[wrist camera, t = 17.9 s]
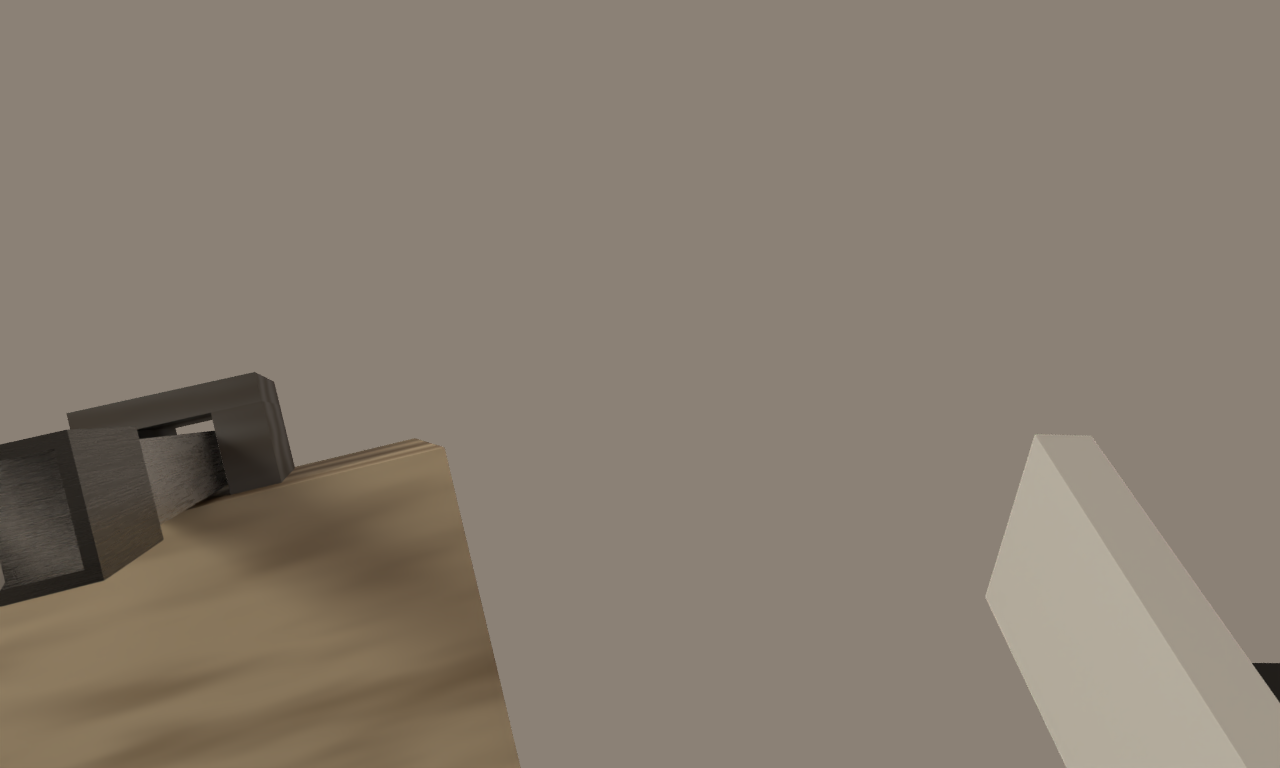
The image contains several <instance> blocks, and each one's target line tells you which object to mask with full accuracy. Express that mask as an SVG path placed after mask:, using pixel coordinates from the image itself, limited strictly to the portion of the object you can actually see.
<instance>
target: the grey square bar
mask: <svg viewBox="0 0 1280 768" xmlns="http://www.w3.org/2000/svg"><path fill="white" fill-rule="evenodd" d="M227 485H228V482H227V478H226V474H225V469H224V465H223V461H222V457H221V453H220V449H219V445H218V441H217V437H216V432H215V431H209V432H200V433H190V434H181V435H172V436H163V437H154V438H145V439H139V436H138V432H137V428H136V426H135V427H114V428H93V429H73V430H64V431H60V432H55V433H50V434H46V435H41V436H37V437H32V438H28V439H23V440H19V441H14V442H10V443H6V444H1V445H0V563H1V567H2V571H3V575H4V580H5V583H4V585H3V587H2V588H1V590H0V607H2V606H6V605H10V604H14V603H18V602H22V601H26V600H30V599H34V598H38V597H42V596H46V595H50V594H54V593H58V592H62V591H66V590H69V589H73V588H77V587H81V586H85V585H89V584H93V583H97V582H101V581H105V580H106V579H107V578H109V577H110V576H112V575H113V574H115V573H116V572H118V571H119V570H121V569H122V568H124V567H125V566H126V565H128V564H129V563H131V562H132V561H134V560H135V559H137V558H138V557H140V556H141V555H142V554H144V553H145V552H147V551H148V550H150V549H151V548H153V547H154V546H156V545H157V544H158V543H160V542H161V541H163V540H164V538H163V534H162V530H161V526H160V525H161V524H162V523H164V522H166V521H168V520H169V519H171V518H173V517H174V516H176V515H178V514H179V513H181V512H183V511H184V510H186V509H188V508H189V507H191V506H193V505H195V504H196V503H198V502H200V501H201V500H203V499H205V498H206V497H208V496H210V495H211V494H213V493H215V492H217V491H218V490H220V489H222V488H223V487H225V486H227Z"/></svg>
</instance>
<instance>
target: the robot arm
mask: <svg viewBox="0 0 1280 768" xmlns="http://www.w3.org/2000/svg"><path fill="white" fill-rule="evenodd" d="M4 583H5V580H4V575H3V571H2V567H1V563H0V590H1V588H2V587H3V585H4ZM985 598H986V600H987V602H988V604H989V606H990V608H991V610H992V612H993V615H994V617H995V619H996V621H997V623H998V625H999V627H1000V629H1001V631H1002V634H1003V636H1004V638H1005V640H1006V642H1007V644H1008V646H1009V648H1010V650H1011V652H1012V655H1013V657H1014V659H1015V661H1016V663H1017V665H1018V667H1019V669H1020V671H1021V674H1022V676H1023V678H1024V680H1025V682H1026V684H1027V686H1028V688H1029V690H1030V692H1031V695H1032V697H1033V699H1034V701H1035V703H1036V705H1037V707H1038V709H1039V711H1040V714H1041V715H1042V718H1043V720H1044V722H1045V724H1046V726H1047V728H1048V730H1049V732H1050V734H1051V737H1052V739H1053V741H1054V743H1055V745H1056V747H1057V749H1058V751H1059V754H1060V756H1061V758H1062V760H1063V762H1064V764H1065V766H1066V768H1280V663H1251V661H1250V660H1249V659H1248V657H1247V656H1246V655H1245V653H1244V652H1243V650H1242V649H1241V647H1240V646H1239V644H1238V643H1237V642H1236V640H1235V639H1234V637H1233V636H1232V634H1231V633H1230V632H1229V630H1228V629H1227V627H1226V626H1225V625H1224V623H1223V622H1222V620H1221V619H1220V618H1219V616H1218V615H1217V613H1216V612H1215V610H1214V609H1213V608H1212V606H1211V605H1210V603H1209V602H1208V601H1207V599H1206V598H1205V596H1204V595H1203V593H1202V592H1201V591H1200V589H1199V588H1198V586H1197V585H1196V583H1195V582H1194V581H1193V579H1192V578H1191V576H1190V575H1189V574H1188V572H1187V571H1186V569H1185V568H1184V566H1183V565H1182V564H1181V562H1180V561H1179V559H1178V558H1177V557H1176V555H1175V554H1174V552H1173V551H1172V549H1171V548H1170V547H1169V546H1168V544H1167V543H1166V541H1165V540H1164V538H1163V537H1162V535H1161V534H1160V532H1159V531H1158V530H1157V528H1156V527H1155V525H1154V524H1153V523H1152V521H1151V520H1150V518H1149V517H1148V515H1147V514H1146V513H1145V511H1144V510H1143V508H1142V507H1141V505H1140V504H1139V503H1138V501H1137V500H1136V498H1135V497H1134V496H1133V494H1132V493H1131V491H1130V490H1129V488H1128V487H1127V486H1126V484H1125V483H1124V481H1123V480H1122V478H1121V477H1120V476H1119V474H1118V473H1117V472H1116V470H1115V469H1114V467H1113V466H1112V464H1111V463H1110V461H1109V460H1108V459H1107V457H1106V456H1105V455H1104V453H1103V452H1102V450H1101V449H1100V447H1099V446H1098V444H1097V443H1096V442H1095V440H1094V439H1093V437H1092V436H1078V435H1046V434H1045V435H1044V434H1035V436H1034V439H1033V442H1032V446H1031V449H1030V452H1029V455H1028V459H1027V462H1026V465H1025V468H1024V472H1023V475H1022V478H1021V481H1020V485H1019V488H1018V491H1017V495H1016V498H1015V501H1014V505H1013V508H1012V511H1011V514H1010V518H1009V521H1008V524H1007V528H1006V531H1005V534H1004V537H1003V541H1002V544H1001V547H1000V550H999V554H998V557H997V560H996V563H995V567H994V570H993V573H992V576H991V580H990V583H989V586H988V590H987V593H986V596H985Z"/></svg>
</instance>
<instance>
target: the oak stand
mask: <svg viewBox="0 0 1280 768" xmlns="http://www.w3.org/2000/svg"><path fill="white" fill-rule="evenodd" d="M67 417H68V421H69V426H70V430H73V429H93V428H114V427H135V426H136V428H137V432H138V436H139V439H145V438H154V437H163V436H172V435H177V433H176V429H175V428H178V427H182V426H186V425H190V424H195V423H200V422H204V421H208V420H213V423H214V428H215V432H216V436H217V440H218V444H219V448H220V452H221V456H222V460H223V465H224V469H225V473H226V477H227V481H228V485H227V486H225V487H223V488H222V489H220V490H218V491H217V492H215V493H213V494H211V495H210V496H208V497H206V498H205V499H203V500H201V501H200V502H198V503H196V504H195V505H193V506H191V507H189V508H188V509H186V510H184V511H183V512H181V513H179V514H178V515H176V516H174V517H173V518H171V519H169V520H168V521H166V522H164V523H162V524H161V525H160V526H161V530H162V534H163V538H164V540H163V541H161V542H160V543H158V544H157V545H156V546H154V547H153V548H151V549H150V550H148V551H147V552H145V553H144V554H142V555H141V556H140V557H138V558H137V559H135V560H134V561H132V562H131V563H129V564H128V565H126V566H125V567H124V568H122V569H121V570H119V571H118V572H116V573H115V574H113V575H112V576H110V577H109V578H107V579H106V580H105V581H101V582H97V583H93V584H89V585H85V586H81V587H77V588H73V589H69V590H66V591H62V592H58V593H54V594H50V595H46V596H42V597H38V598H34V599H30V600H26V601H22V602H18V603H14V604H10V605H6V606H2V607H0V768H521V767H520V763H519V759H518V755H517V751H516V746H515V742H514V739H513V734H512V730H511V726H510V721H509V717H508V713H507V708H506V704H505V700H504V696H503V692H502V687H501V683H500V679H499V675H498V671H497V666H496V663H495V658H494V654H493V649H492V646H491V641H490V637H489V633H488V628H487V624H486V620H485V616H484V612H483V607H482V603H481V599H480V595H479V591H478V586H477V582H476V578H475V574H474V570H473V565H472V561H471V557H470V553H469V548H468V544H467V540H466V536H465V532H464V527H463V523H462V519H461V515H460V511H459V506H458V502H457V498H456V494H455V489H454V485H453V481H452V477H451V473H450V468H449V464H448V460H447V456H446V452H445V448H444V447H441V446H438V445H435V444H432V443H428V442H425V441H422V440H419V439H415V438H414V439H410V440H406V441H402V442H397V443H393V444H389V445H385V446H381V447H377V448H373V449H369V450H364V451H360V452H356V453H352V454H348V455H344V456H339V457H335V458H331V459H327V460H322V461H318V462H314V463H310V464H306V465H302V466H297V467H294V463H293V458H292V454H291V450H290V446H289V442H288V438H287V434H286V429H285V426H284V421H283V417H282V413H281V409H280V405H279V400H278V396H277V393H276V388H275V384H274V382H273V381H271V380H269V379H267V378H265V377H263V376H261V375H259V374H257V373H255V372H254V373H249V374H244V375H240V376H235V377H231V378H227V379H221V380H217V381H212V382H208V383H203V384H199V385H194V386H190V387H185V388H181V389H176V390H172V391H167V392H162V393H158V394H153V395H149V396H144V397H140V398H135V399H131V400H126V401H122V402H117V403H112V404H108V405H103V406H99V407H94V408H90V409H85V410H80V411H76V412H71V413H67Z"/></svg>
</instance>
